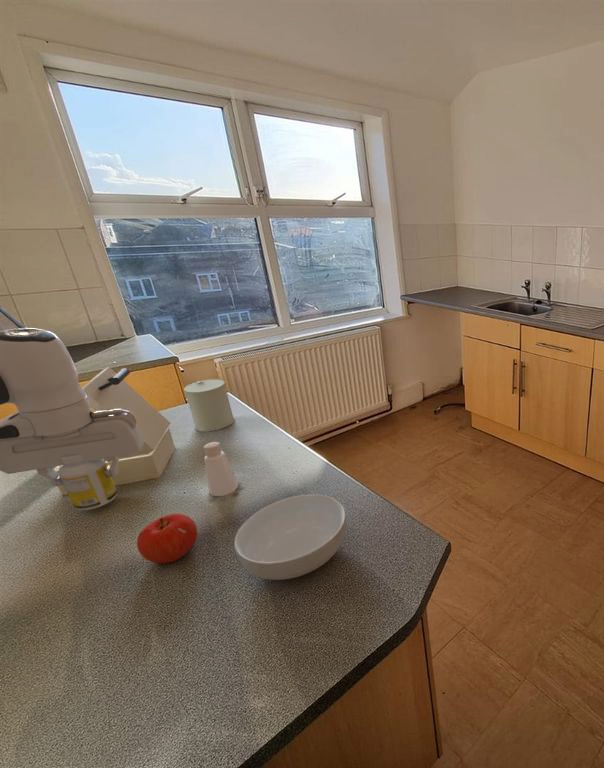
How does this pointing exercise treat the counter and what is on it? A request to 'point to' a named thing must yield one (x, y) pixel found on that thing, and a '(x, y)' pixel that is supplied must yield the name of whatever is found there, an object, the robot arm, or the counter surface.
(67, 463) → the pill bottle
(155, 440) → the box lid
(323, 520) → the cereal bowl
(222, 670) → the counter surface
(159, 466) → the cream open box
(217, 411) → the can
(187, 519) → the apple
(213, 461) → the salt shaker
